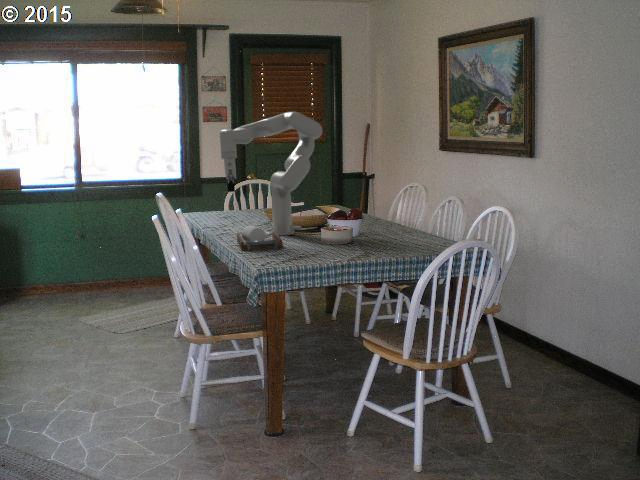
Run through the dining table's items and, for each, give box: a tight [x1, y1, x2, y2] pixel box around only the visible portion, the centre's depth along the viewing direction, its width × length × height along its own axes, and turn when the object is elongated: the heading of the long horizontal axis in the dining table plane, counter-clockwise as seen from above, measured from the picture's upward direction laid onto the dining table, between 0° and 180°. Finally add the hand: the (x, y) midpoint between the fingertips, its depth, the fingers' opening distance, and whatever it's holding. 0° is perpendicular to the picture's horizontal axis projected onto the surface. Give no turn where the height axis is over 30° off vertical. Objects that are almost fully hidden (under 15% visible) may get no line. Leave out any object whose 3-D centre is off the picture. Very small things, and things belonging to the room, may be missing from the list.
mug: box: [241, 224, 271, 242], centre depth 365 cm, size 12×10×8 cm
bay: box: [236, 230, 283, 252], centre depth 358 cm, size 18×30×4 cm, turn 10°
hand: (231, 190), depth 376 cm, fingers open, 9 cm apart
